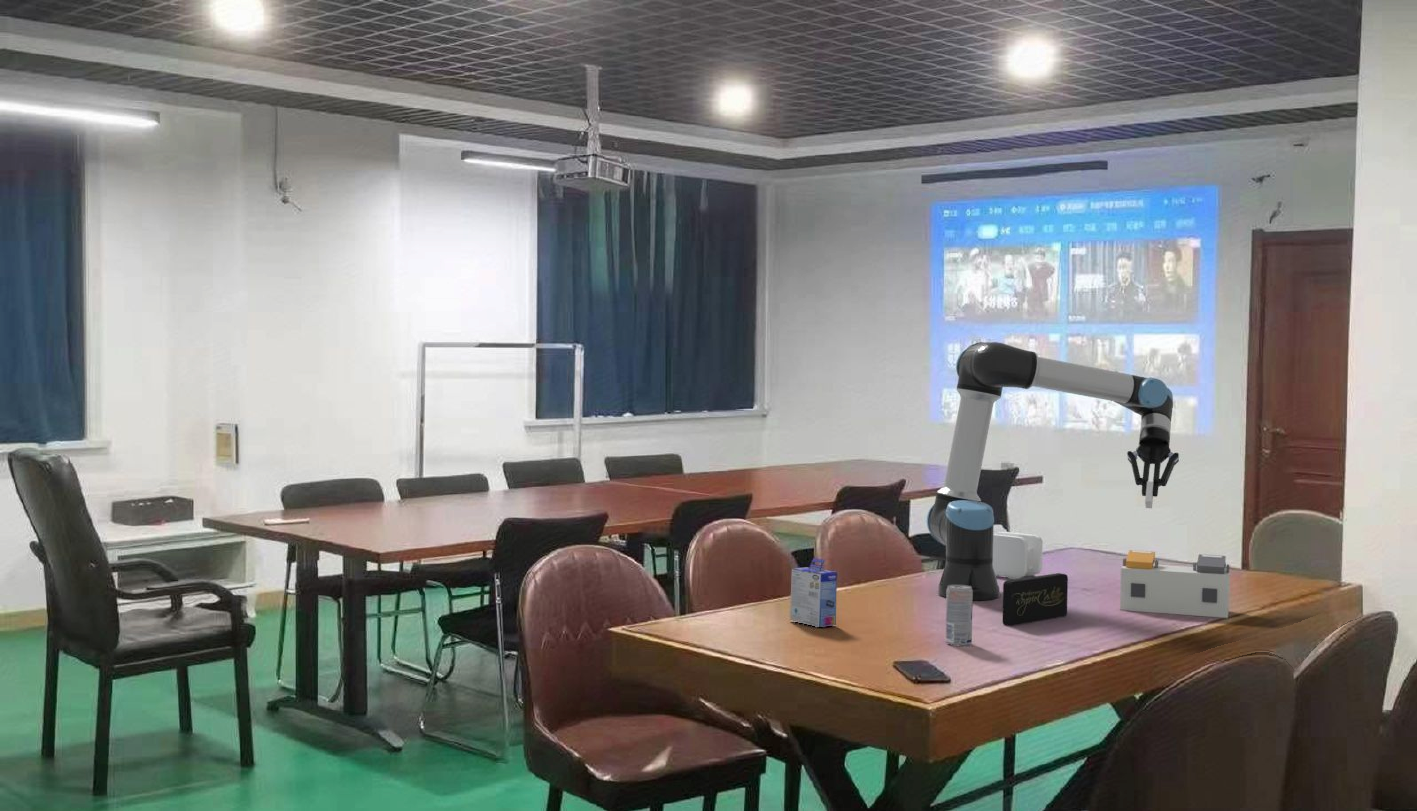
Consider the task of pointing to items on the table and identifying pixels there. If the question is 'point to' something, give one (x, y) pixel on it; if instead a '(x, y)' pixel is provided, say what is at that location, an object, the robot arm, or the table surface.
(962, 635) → the energy drink
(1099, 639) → the table surface
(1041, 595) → the nameplate
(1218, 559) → the rocker charcoal
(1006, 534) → the cable organizer
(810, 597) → the ink cartridge box
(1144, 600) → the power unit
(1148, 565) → the rocker orange
